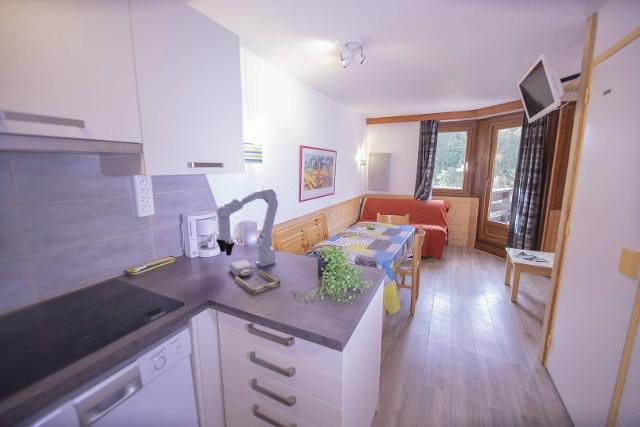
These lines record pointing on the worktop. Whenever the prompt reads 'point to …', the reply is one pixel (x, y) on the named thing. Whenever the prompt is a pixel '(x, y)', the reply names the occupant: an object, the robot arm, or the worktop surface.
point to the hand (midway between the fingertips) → (225, 253)
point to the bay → (261, 288)
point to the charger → (241, 268)
